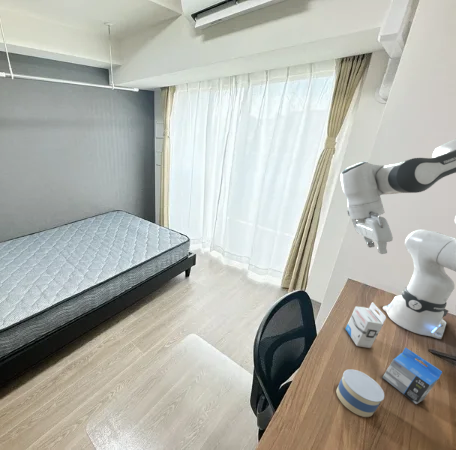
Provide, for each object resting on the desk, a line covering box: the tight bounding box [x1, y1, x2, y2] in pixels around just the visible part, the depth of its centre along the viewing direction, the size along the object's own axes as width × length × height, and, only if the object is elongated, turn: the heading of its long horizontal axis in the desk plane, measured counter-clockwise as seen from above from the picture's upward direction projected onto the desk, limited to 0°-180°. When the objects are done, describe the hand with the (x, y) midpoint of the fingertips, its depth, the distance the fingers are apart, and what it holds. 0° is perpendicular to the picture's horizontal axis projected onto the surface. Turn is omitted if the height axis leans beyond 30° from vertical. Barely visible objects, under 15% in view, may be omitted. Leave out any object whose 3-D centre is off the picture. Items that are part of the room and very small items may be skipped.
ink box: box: [345, 302, 387, 349], centre depth 90 cm, size 9×5×15 cm, turn 168°
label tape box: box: [382, 346, 443, 405], centre depth 73 cm, size 9×4×12 cm, turn 20°
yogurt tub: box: [335, 368, 385, 418], centre depth 70 cm, size 9×9×7 cm
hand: (376, 249), depth 82 cm, fingers open, 8 cm apart
